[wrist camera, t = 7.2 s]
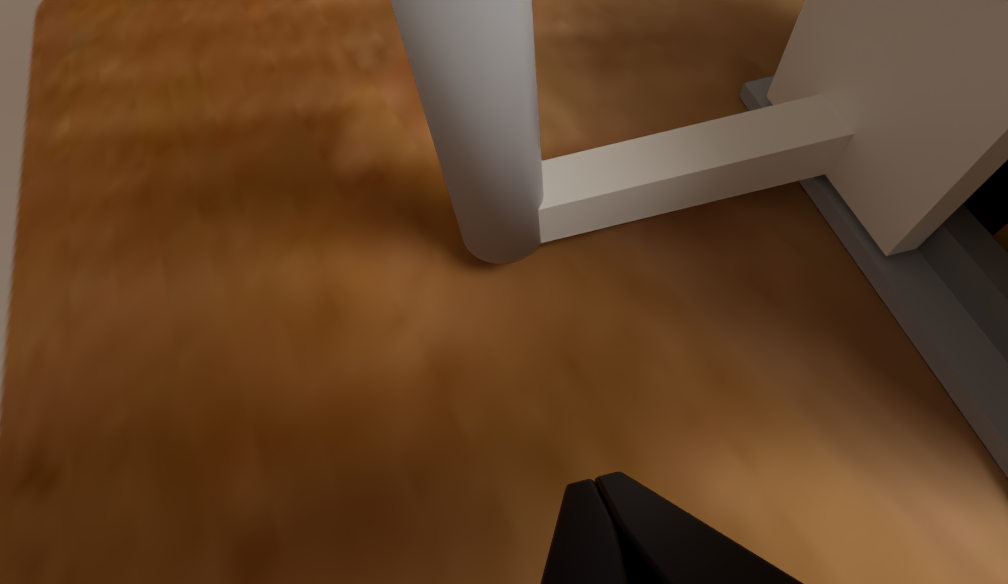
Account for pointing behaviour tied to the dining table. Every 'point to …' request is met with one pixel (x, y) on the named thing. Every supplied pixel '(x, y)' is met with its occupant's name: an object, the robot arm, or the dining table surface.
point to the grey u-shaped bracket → (724, 123)
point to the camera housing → (937, 298)
